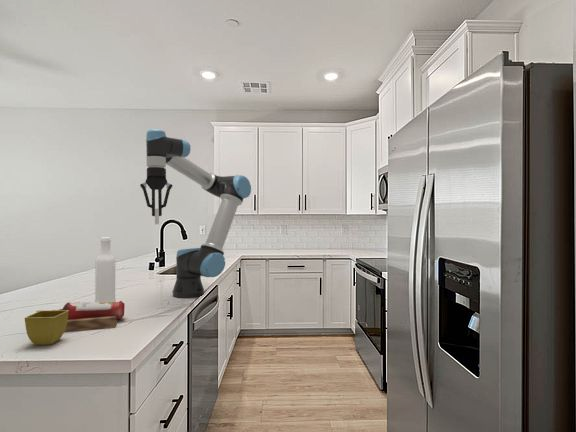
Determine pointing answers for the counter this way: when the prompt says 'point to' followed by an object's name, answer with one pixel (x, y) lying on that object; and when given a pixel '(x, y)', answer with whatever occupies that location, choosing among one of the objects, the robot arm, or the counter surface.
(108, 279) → the bottle
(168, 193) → the robot arm
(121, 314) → the liquor
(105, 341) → the counter surface
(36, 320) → the flower pot
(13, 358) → the counter surface
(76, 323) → the rest
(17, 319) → the counter surface
